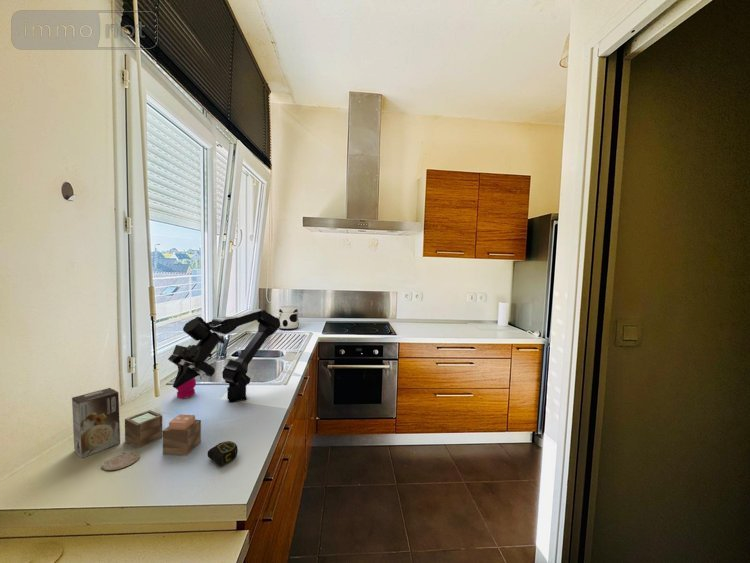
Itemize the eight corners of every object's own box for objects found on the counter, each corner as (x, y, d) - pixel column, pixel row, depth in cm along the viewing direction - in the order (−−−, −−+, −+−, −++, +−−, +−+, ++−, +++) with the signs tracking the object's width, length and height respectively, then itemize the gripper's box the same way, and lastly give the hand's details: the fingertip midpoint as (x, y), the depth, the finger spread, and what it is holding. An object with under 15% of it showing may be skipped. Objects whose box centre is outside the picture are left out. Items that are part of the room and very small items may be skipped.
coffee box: (112, 436, 98) (111, 386, 97) (120, 443, 94) (120, 391, 94) (72, 451, 90) (71, 397, 89) (80, 459, 87) (79, 403, 86)
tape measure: (206, 460, 88) (206, 447, 88) (229, 449, 94) (230, 437, 93) (218, 471, 84) (218, 457, 84) (242, 458, 90) (242, 446, 89)
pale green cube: (148, 426, 100) (148, 412, 100) (156, 430, 98) (156, 416, 98) (131, 433, 96) (130, 419, 96) (139, 438, 94) (139, 423, 94)
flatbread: (135, 450, 92) (135, 447, 92) (142, 462, 87) (142, 458, 87) (99, 463, 85) (99, 460, 85) (104, 476, 81) (104, 473, 80)
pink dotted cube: (180, 428, 96) (179, 414, 95) (195, 429, 95) (195, 414, 95) (169, 437, 91) (168, 421, 91) (185, 438, 91) (184, 422, 90)
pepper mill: (171, 396, 127) (171, 348, 126) (189, 390, 134) (189, 344, 133) (182, 400, 124) (182, 351, 123) (199, 393, 130) (199, 346, 129)
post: (150, 430, 102) (149, 409, 101) (162, 436, 99) (162, 415, 98) (125, 441, 96) (124, 419, 95) (137, 448, 92) (137, 425, 92)
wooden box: (178, 440, 97) (178, 418, 97) (200, 441, 97) (200, 419, 96) (162, 454, 90) (162, 430, 90) (186, 455, 90) (186, 432, 89)
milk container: (273, 328, 260) (274, 306, 259) (292, 325, 271) (293, 305, 270) (283, 331, 247) (283, 309, 246) (302, 329, 259) (303, 307, 258)
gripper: (173, 331, 112) (139, 371, 103) (206, 339, 104) (172, 382, 95) (194, 347, 120) (165, 385, 111) (227, 356, 111) (198, 397, 102)
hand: (174, 387), depth 105 cm, fingers closed
